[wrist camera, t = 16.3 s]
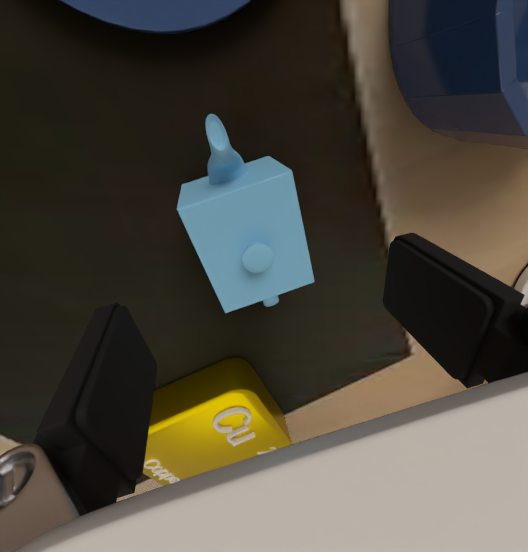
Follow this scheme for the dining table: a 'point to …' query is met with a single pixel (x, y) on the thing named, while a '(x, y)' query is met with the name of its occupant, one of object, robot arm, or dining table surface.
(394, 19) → the pot
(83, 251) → the dining table surface
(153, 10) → the lid
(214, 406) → the element tile
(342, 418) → the dining table surface
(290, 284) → the teapot
